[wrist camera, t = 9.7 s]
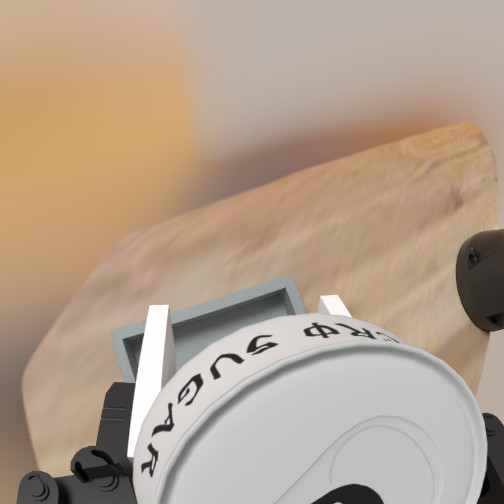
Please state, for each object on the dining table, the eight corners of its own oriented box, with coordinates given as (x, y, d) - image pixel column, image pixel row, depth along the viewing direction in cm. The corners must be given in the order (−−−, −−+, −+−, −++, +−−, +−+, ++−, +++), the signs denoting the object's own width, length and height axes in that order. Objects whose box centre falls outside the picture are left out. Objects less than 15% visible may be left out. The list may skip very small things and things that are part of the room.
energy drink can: (313, 410, 17) (534, 472, 3) (227, 466, 15) (278, 671, 1) (255, 328, 18) (396, 208, 4) (167, 383, 16) (14, 445, 2)
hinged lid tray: (281, 285, 35) (291, 274, 31) (360, 498, 27) (377, 511, 23) (122, 335, 31) (109, 331, 27) (215, 552, 23) (217, 572, 19)
